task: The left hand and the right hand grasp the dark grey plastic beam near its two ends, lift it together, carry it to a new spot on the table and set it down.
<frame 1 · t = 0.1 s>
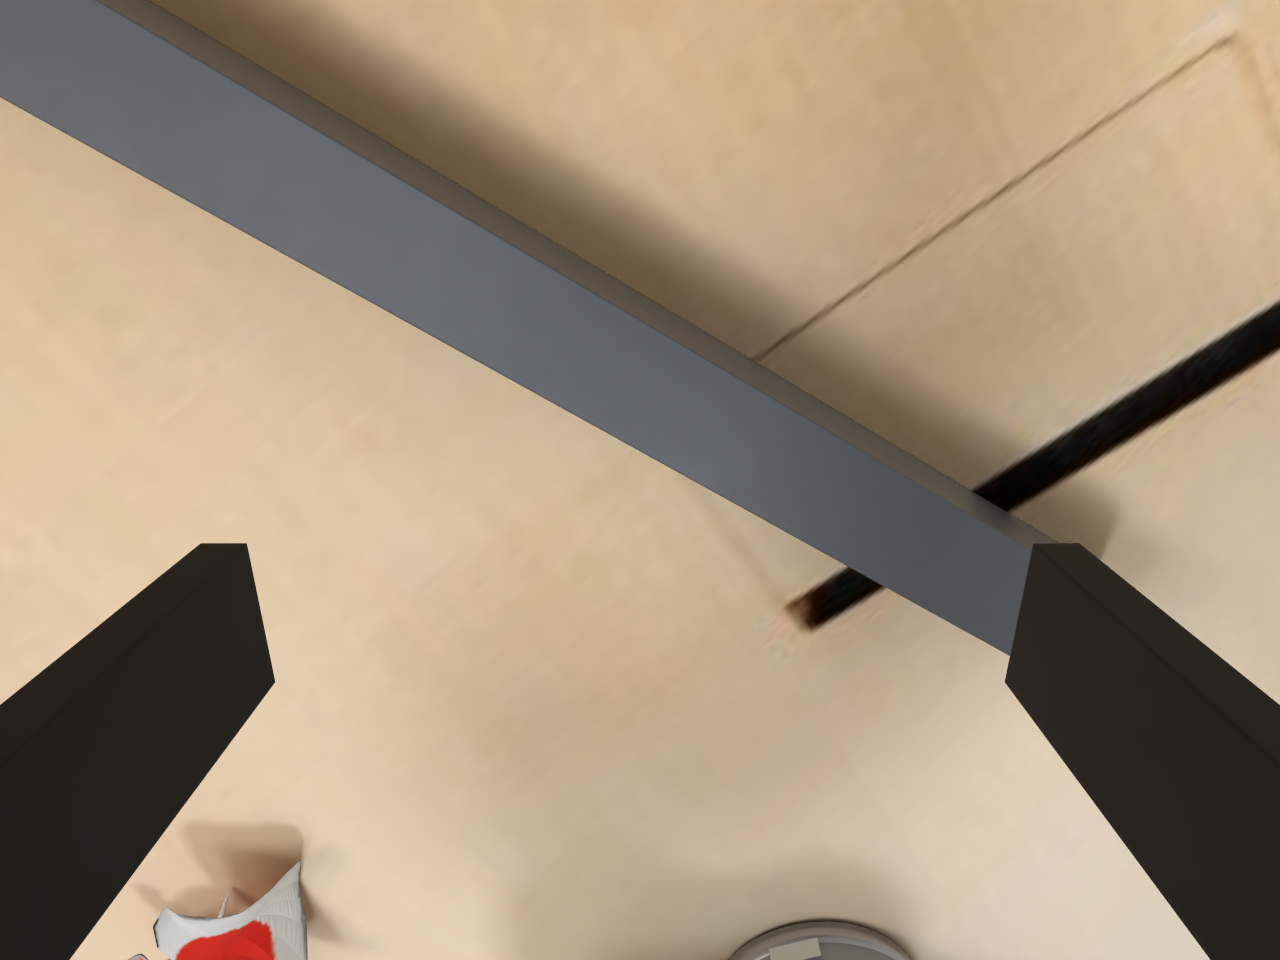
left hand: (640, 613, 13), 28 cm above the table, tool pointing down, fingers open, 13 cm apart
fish: (243, 902, 53), on the table
beam: (430, 226, 37), on the table
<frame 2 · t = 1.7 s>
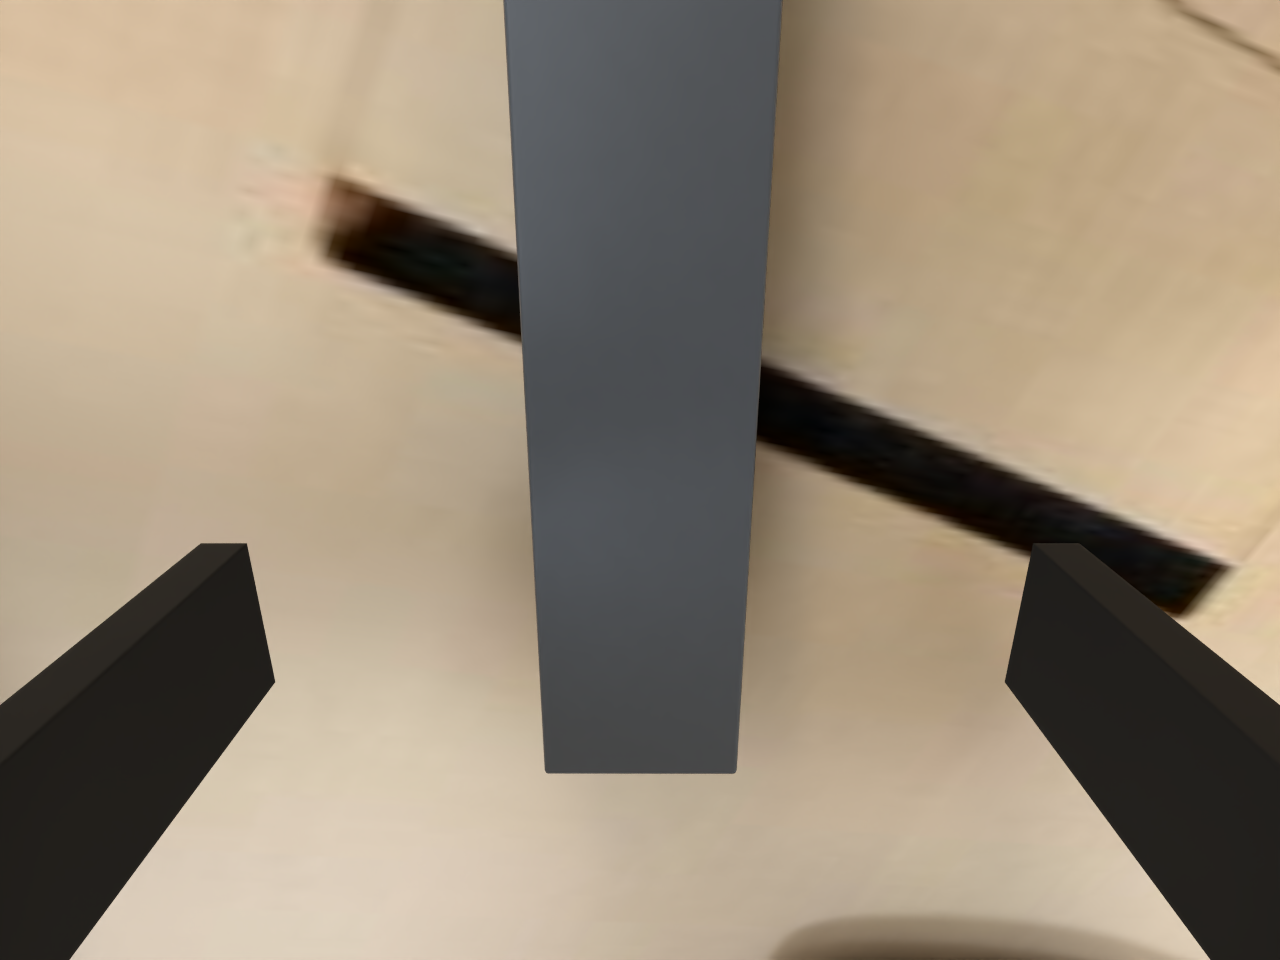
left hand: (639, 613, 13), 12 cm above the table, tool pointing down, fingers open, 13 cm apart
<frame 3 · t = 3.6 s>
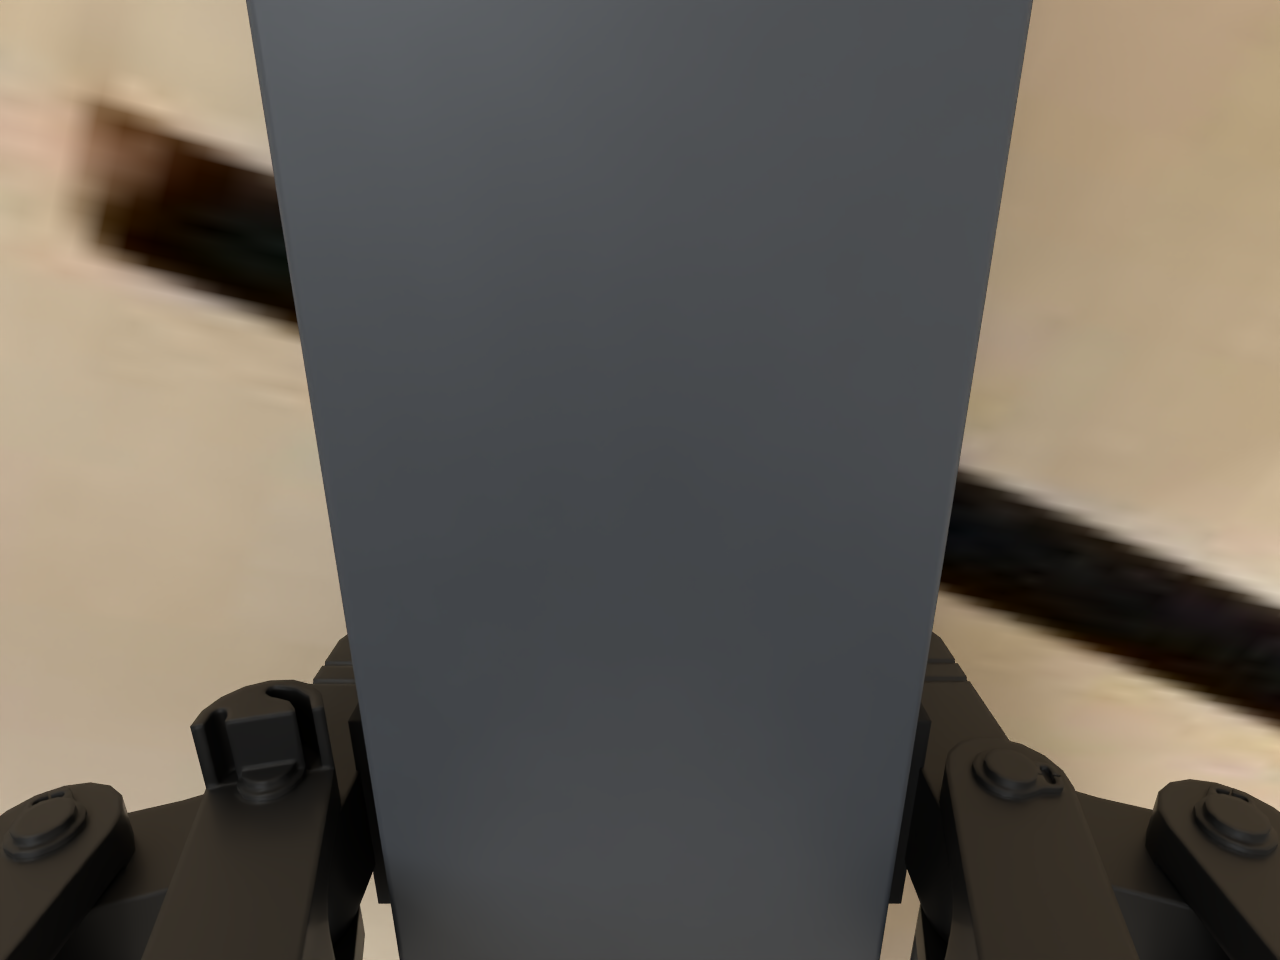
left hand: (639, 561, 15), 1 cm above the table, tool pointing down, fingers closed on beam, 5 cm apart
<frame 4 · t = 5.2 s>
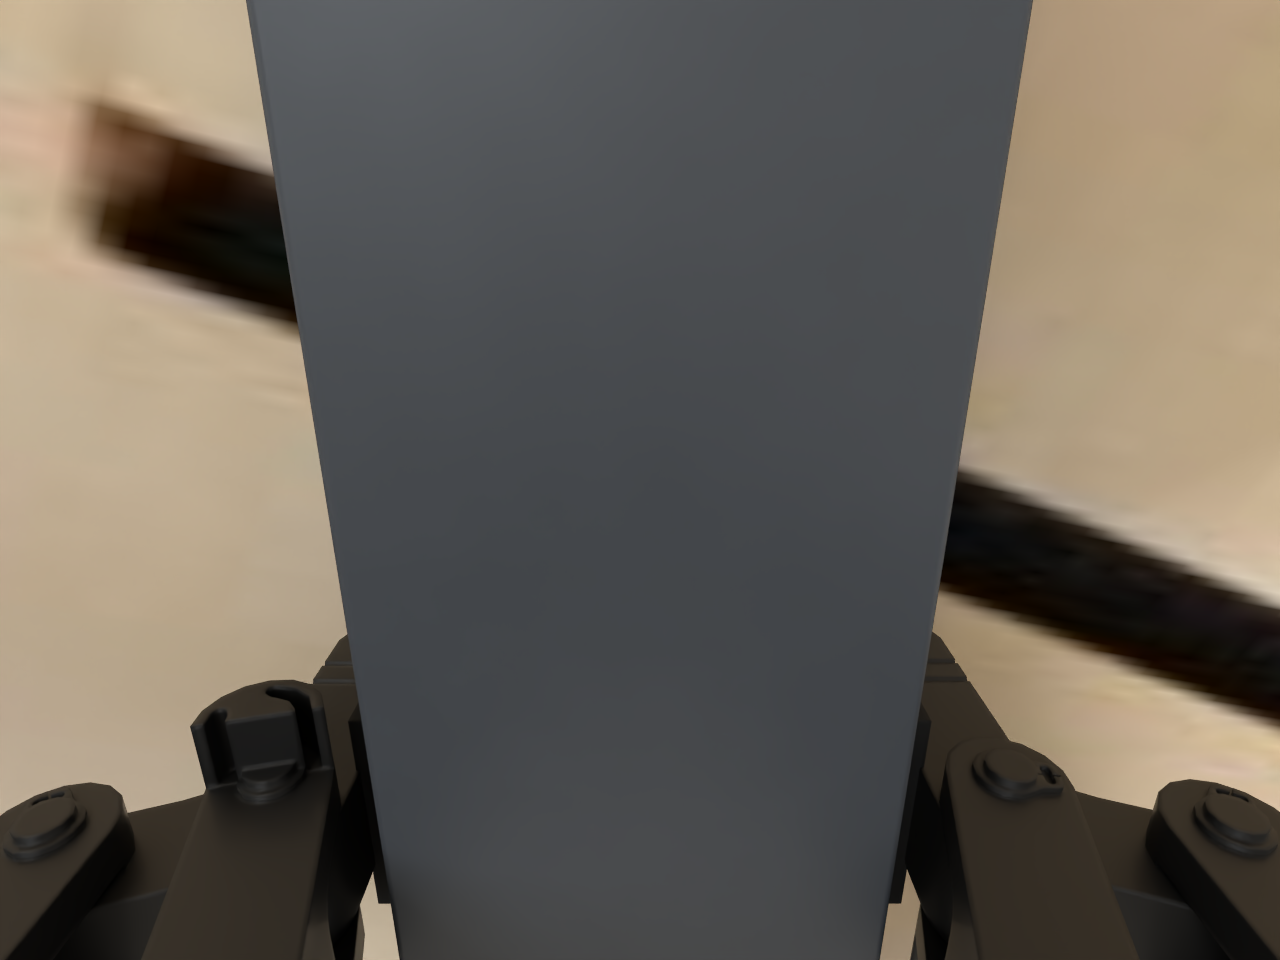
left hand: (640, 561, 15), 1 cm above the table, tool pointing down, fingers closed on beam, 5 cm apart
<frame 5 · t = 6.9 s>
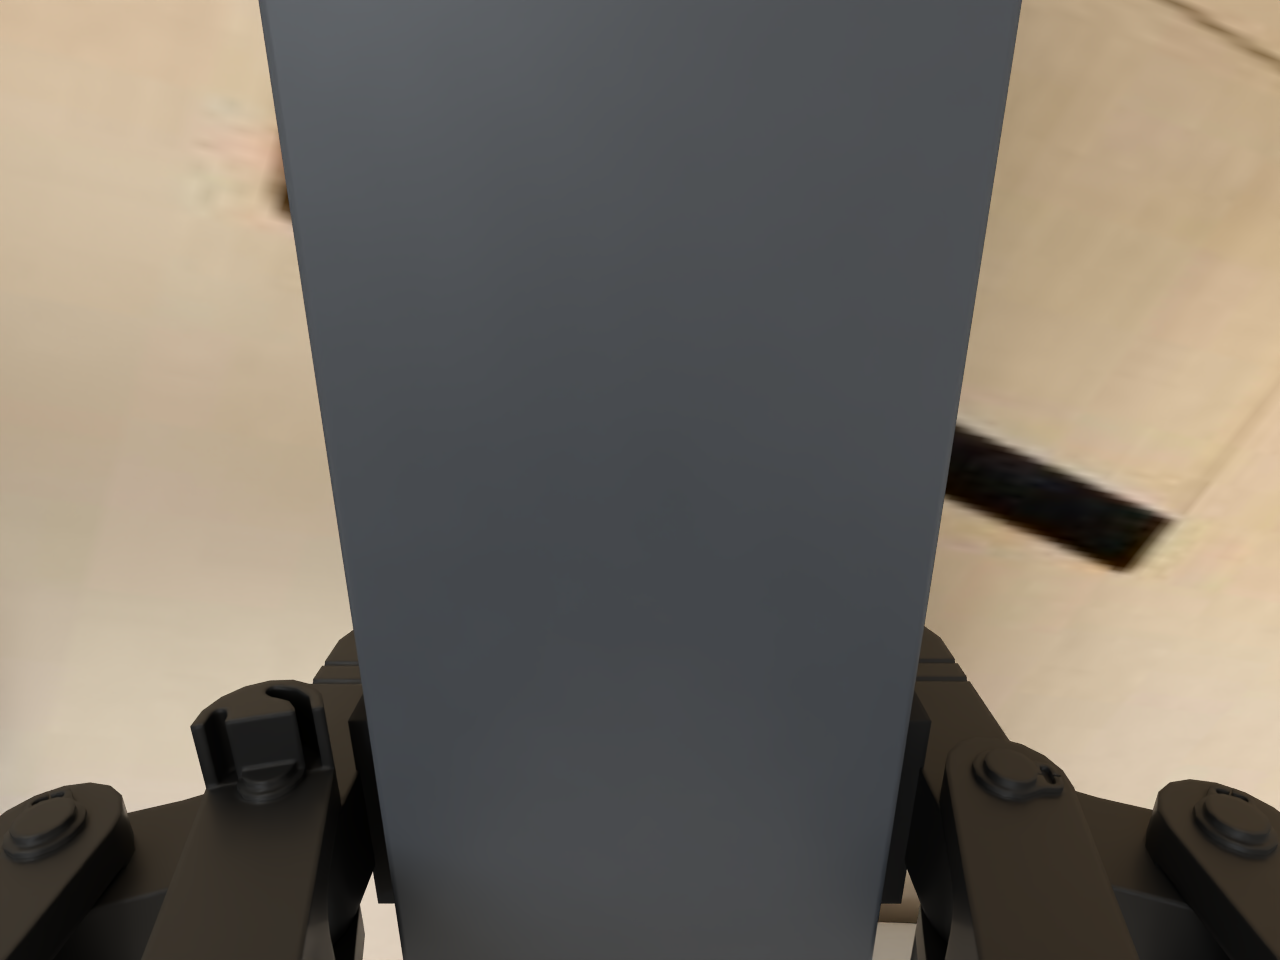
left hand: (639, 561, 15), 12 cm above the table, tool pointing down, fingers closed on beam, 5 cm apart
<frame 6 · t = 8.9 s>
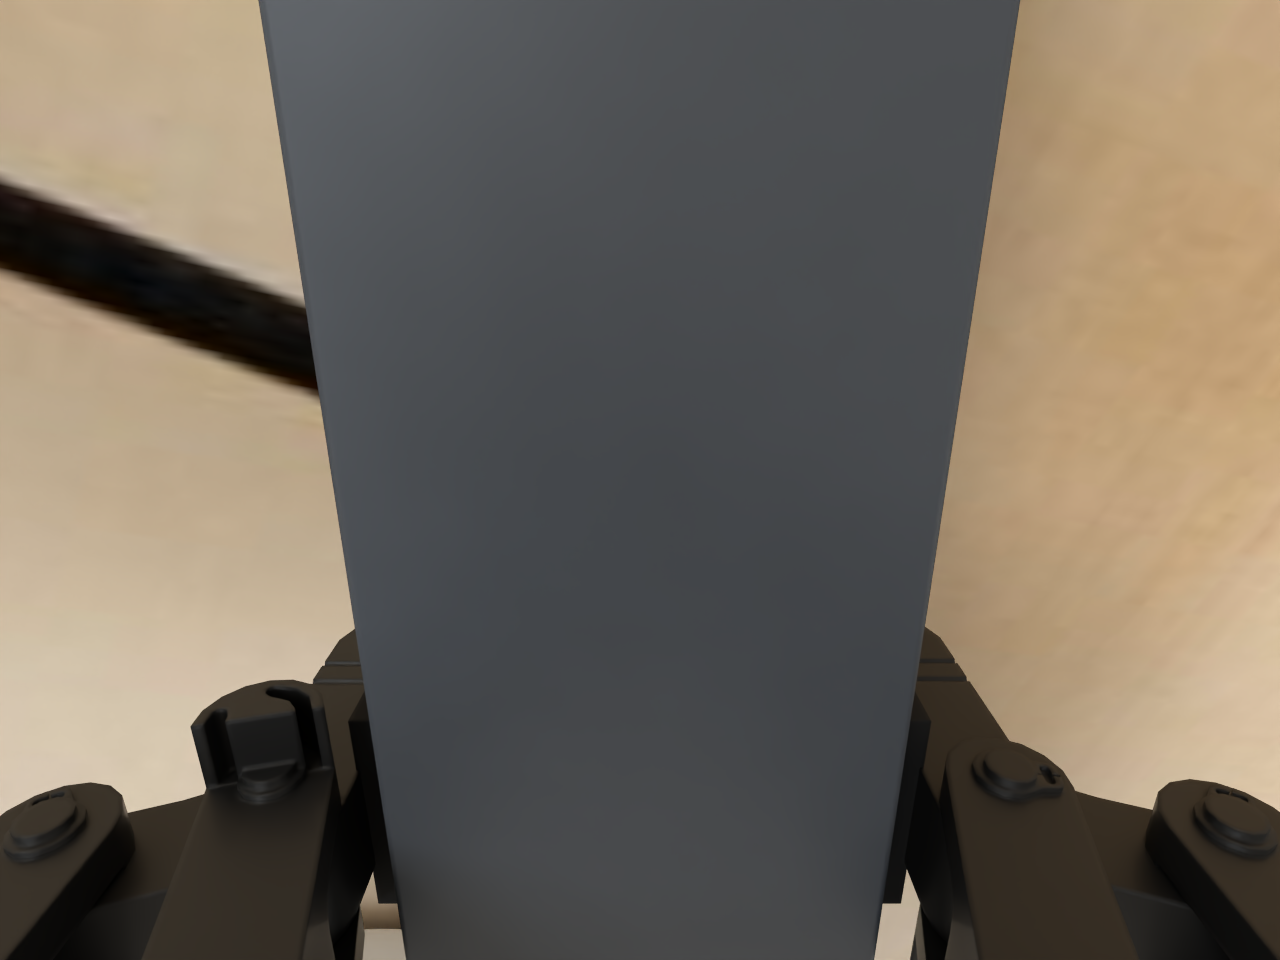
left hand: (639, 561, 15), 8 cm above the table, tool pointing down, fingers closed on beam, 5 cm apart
when the left hand's fingers open (2 cm above the table, at t = 10.2 s): beam drops 1 cm, on the table.
when the right hand's fingers open (5 cm above the table, at t = 10.3 s): beam stays where it is, on the table.
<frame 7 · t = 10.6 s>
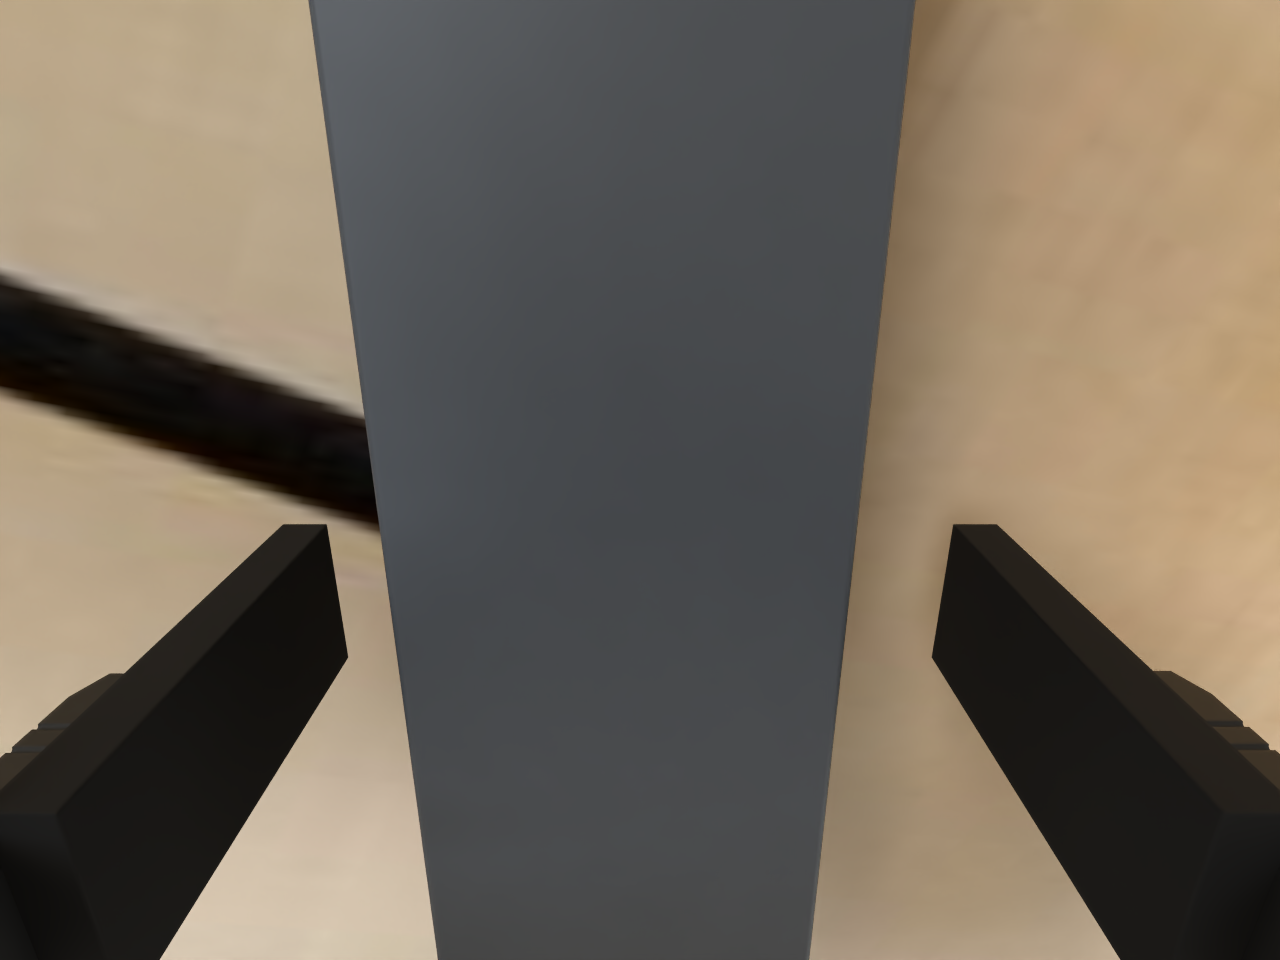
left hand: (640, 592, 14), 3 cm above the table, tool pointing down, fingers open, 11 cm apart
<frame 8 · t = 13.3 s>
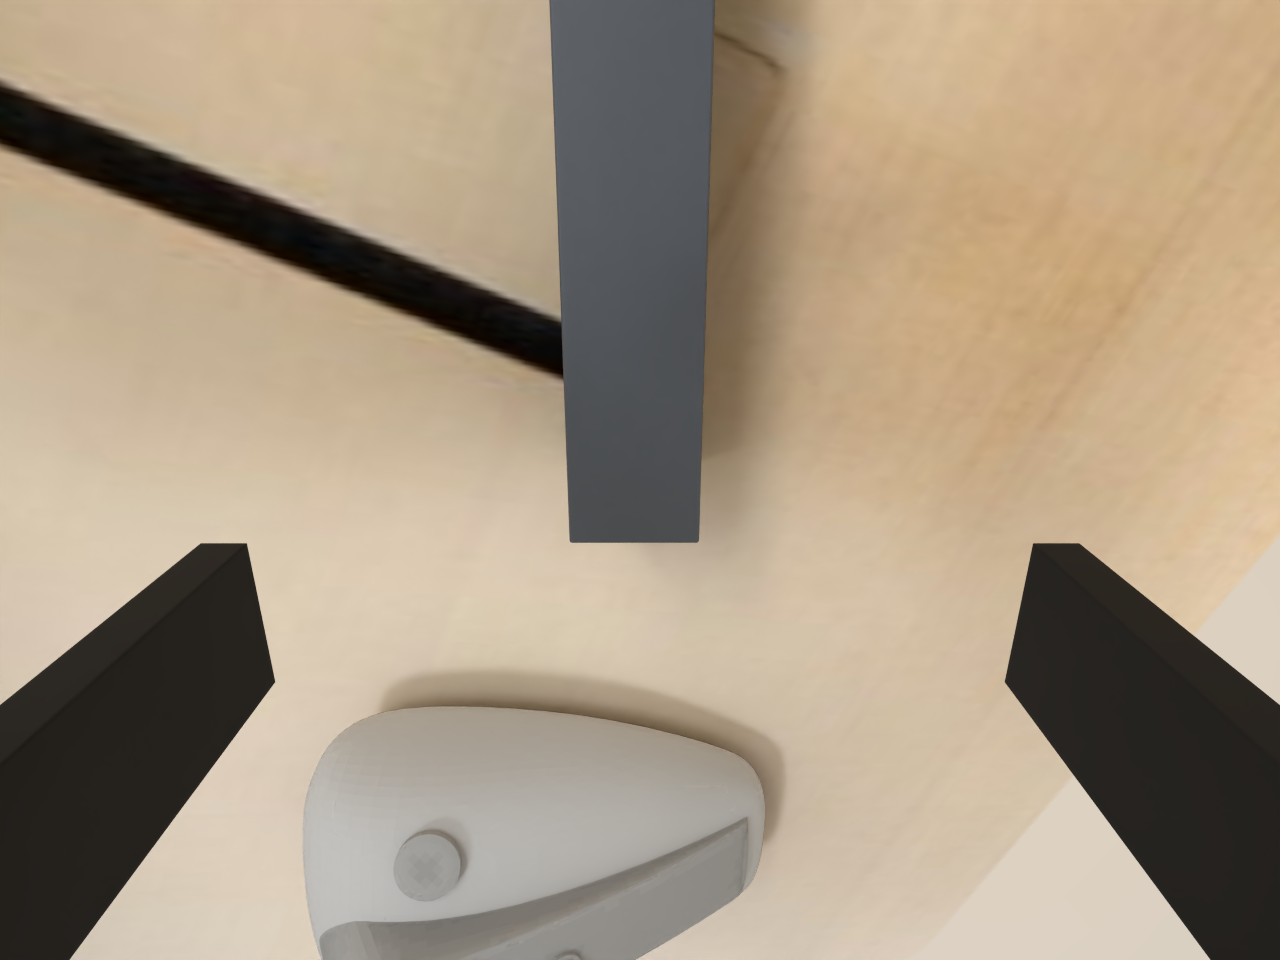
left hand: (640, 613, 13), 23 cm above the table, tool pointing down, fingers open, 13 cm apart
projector: (554, 790, 44), on the table
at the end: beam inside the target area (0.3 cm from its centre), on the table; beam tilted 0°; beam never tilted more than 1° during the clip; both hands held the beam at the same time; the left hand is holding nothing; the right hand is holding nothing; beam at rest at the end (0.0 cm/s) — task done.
